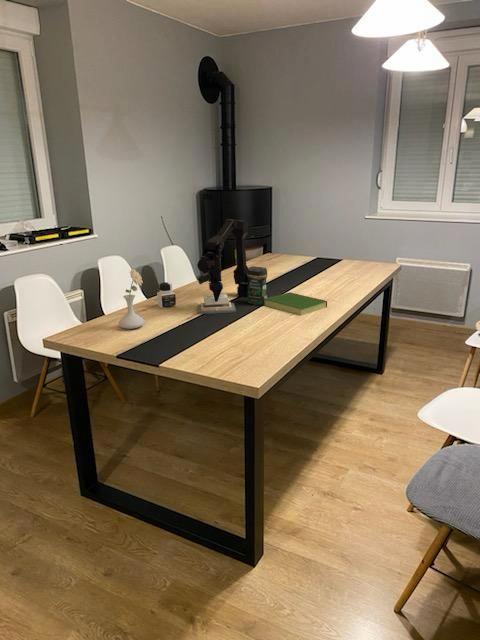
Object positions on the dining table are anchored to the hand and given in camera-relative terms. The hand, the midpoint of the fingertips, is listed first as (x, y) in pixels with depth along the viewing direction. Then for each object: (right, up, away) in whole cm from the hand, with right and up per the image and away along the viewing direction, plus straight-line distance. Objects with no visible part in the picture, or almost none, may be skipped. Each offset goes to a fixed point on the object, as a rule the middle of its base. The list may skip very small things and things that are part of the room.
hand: (215, 299), depth 232 cm
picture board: (0, -5, +1) cm, 5 cm away
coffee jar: (+20, -2, +10) cm, 23 cm away
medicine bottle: (-25, -3, +8) cm, 26 cm away
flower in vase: (-35, -13, -21) cm, 43 cm away
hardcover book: (+38, -4, +4) cm, 39 cm away
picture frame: (0, -1, 0) cm, 1 cm away
